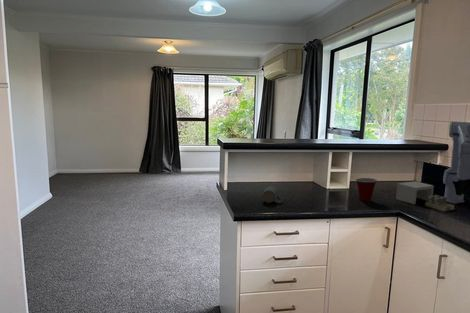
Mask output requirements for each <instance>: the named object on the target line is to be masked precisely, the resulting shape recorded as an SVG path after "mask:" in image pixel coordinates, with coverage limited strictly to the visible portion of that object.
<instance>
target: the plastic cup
mask: <svg viewBox="0 0 470 313" xmlns="http://www.w3.org/2000/svg"><path fill="white" fill-rule="evenodd" d="M355 181H356V183H357V192H358V198H359V201H362V202H365V203H367V202H371V200H372V197H373V193H374V191H375V186H376V182H377V181H378V180H377V179H376V178H372V177H371V178H369V177H367V178H366V177H361V178H360V177H359V178H356V179H355Z"/></svg>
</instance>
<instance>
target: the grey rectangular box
mask: <svg viewBox="0 0 470 313" xmlns="http://www.w3.org/2000/svg"><path fill="white" fill-rule="evenodd" d="M434 187H435V186H434V185H433V184H429V183H424V182H419V181H409V182H408V181H407V182H398V183H397V185H396V197H395V200H398V201H400V202H401V201H402V202H405V203H409V204H412V205H416V204H417V203H416V202H417V199H420V200H423V201H425V202H428V196H434Z"/></svg>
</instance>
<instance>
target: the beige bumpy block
mask: <svg viewBox="0 0 470 313" xmlns="http://www.w3.org/2000/svg"><path fill="white" fill-rule="evenodd" d="M446 199H447V198H446V197H444V196H441V195H438V194H433V196H428V201H425V204H424V206H425V207H427V208H431V209H435V210H438V211H441V212H449V211H453V210H455V205H454V204H452V203H448V202H447V201H446Z"/></svg>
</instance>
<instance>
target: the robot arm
mask: <svg viewBox="0 0 470 313" xmlns="http://www.w3.org/2000/svg"><path fill="white" fill-rule="evenodd" d="M448 130H449V131H448V136H449V137H450V138H451V139H452V148H451V149H452V150H451V161H450V167H449V168H447V169H445V170H444V173H443V176H442V181H443V182H442V183H443V184H445V188H444V189H445V191H444V196H443V197H446V198H447V199H446V203H449V204H453V205H454V204H459V203H464V202H465V200H464V198H465V197H464V196H467V194H468V193H469V191H470V121H469V122H467V121H451V122H450V124H449V128H448Z"/></svg>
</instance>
